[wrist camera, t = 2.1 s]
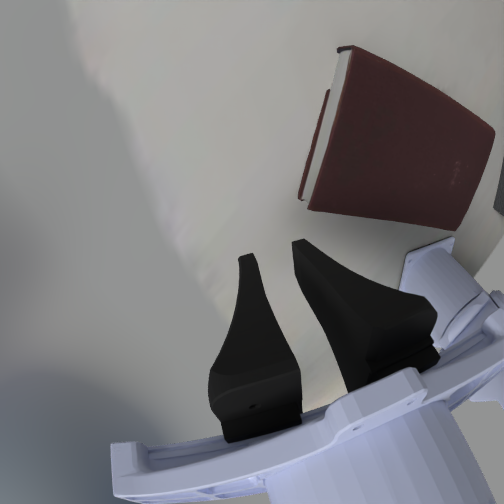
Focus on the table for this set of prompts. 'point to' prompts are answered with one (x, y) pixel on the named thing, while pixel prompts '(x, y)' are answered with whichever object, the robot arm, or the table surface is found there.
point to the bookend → (500, 194)
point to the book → (393, 147)
